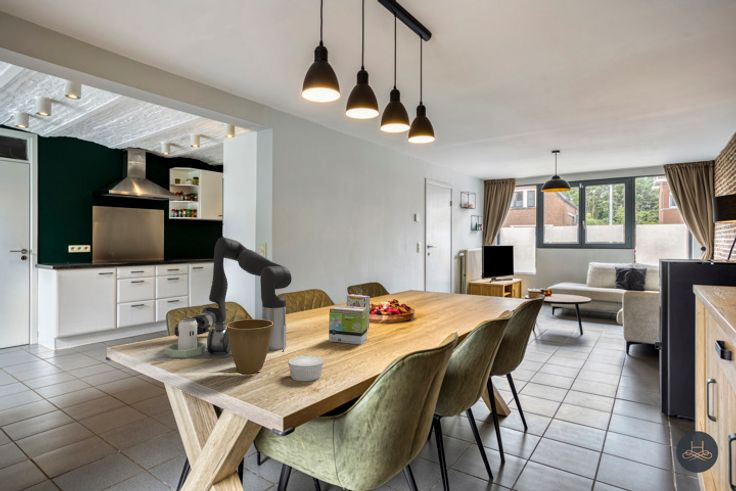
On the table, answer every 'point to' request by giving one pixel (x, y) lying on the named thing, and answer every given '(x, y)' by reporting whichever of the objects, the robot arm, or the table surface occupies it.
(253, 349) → the plant pot
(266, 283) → the robot arm
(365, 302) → the candy bar box
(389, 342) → the table surface
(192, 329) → the can
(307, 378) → the ramekin
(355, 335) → the tea box
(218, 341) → the cylinder
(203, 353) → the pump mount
